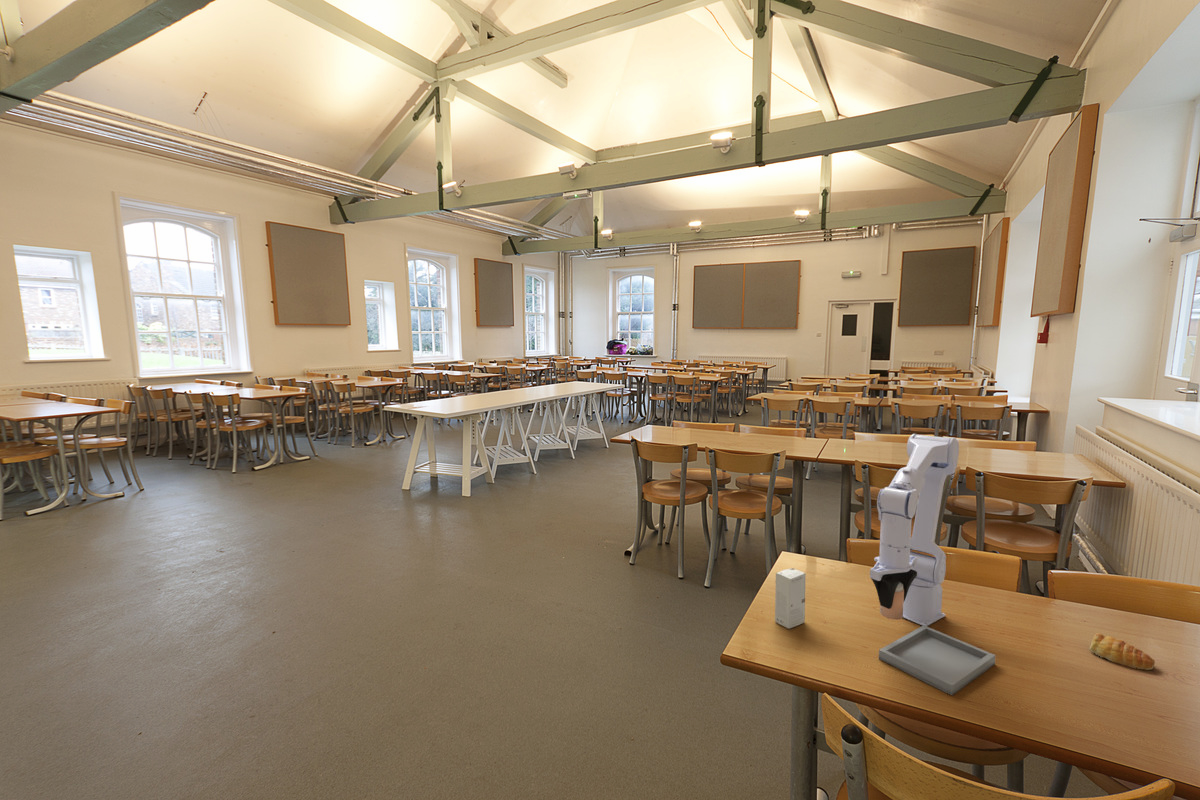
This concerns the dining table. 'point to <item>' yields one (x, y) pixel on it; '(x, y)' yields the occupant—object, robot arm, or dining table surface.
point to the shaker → (895, 605)
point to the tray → (937, 659)
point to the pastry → (1120, 652)
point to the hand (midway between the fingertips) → (892, 603)
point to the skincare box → (790, 598)
